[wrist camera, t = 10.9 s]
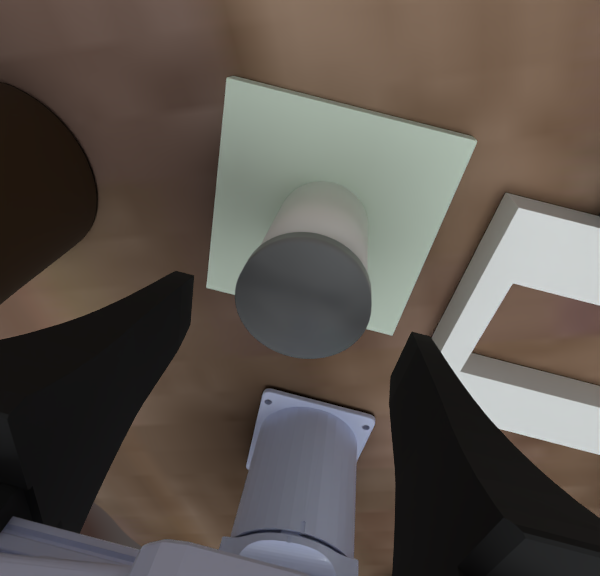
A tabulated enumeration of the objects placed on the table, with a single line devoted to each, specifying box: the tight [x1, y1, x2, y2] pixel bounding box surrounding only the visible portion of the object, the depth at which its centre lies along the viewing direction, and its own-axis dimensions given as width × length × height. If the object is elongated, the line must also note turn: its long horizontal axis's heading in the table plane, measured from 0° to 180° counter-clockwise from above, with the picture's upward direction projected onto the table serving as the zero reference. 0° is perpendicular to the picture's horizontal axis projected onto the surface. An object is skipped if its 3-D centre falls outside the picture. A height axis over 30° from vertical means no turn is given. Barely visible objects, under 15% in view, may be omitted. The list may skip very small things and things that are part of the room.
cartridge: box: [235, 181, 372, 359], centre depth 17 cm, size 5×5×7 cm
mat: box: [206, 76, 477, 335], centre depth 21 cm, size 11×11×1 cm
